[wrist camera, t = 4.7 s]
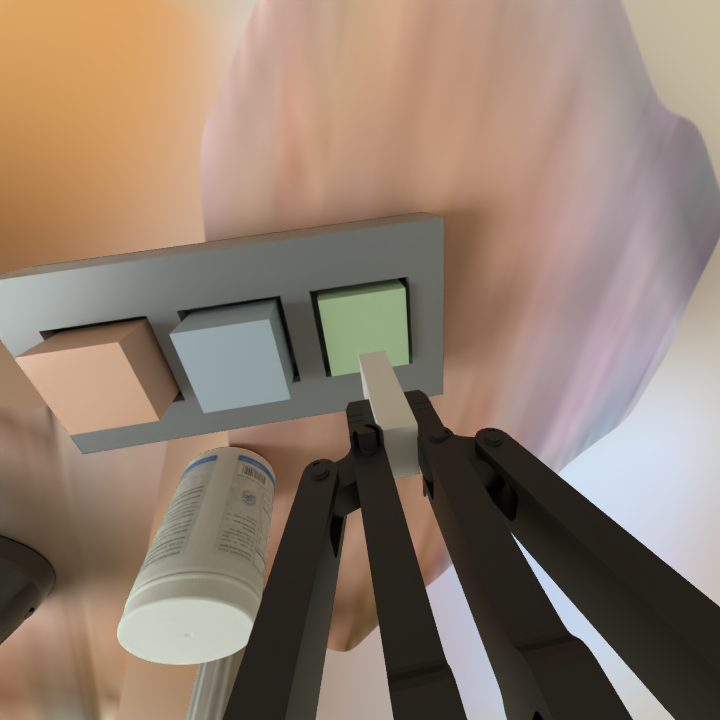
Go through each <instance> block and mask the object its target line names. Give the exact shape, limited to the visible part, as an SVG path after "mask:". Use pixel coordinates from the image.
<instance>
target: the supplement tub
mask: <svg viewBox="0 0 720 720" xmlns="http://www.w3.org/2000/svg"><path fill="white" fill-rule="evenodd" d="M274 491H275V474H274V471H273V469H272V467H271V465H270V464H269V463H268V462H267V461H266V460H265V459H264V458H263V457H262V456H260V455H258V454H257V453H255V452H253V451H250V450H247V449H243V448H238V447H222V448H216V449H212V450H209V451H206V452H204V453H202V454H200V455H198V456H197V457H196V458H194V459H193V460H192V461H191V462H190V463H189V464H188V466H187V467H186V469H185V471H184V473H183V475H182V477H181V480H180V482H179V484H178V486H177V488H176V491H175V493H174V495H173V498H172V500H171V502H170V504H169V506H168V509H167V511H166V513H165V515H164V518H163V520H162V522H161V524H160V527H159V529H158V531H157V533H156V536H155V538H154V540H153V542H152V545H151V547H150V549H149V551H148V554H147V556H146V558H145V560H144V563H143V565H142V567H141V569H140V572H139V574H138V576H137V578H136V580H135V583H134V585H133V588H132V590H131V592H130V595H129V597H128V600H127V602H126V605H125V608H124V613H123V616H122V618H121V621H120V623H119V626H118V629H117V636H118V640H119V642H120V644H121V645H122V646H123V647H124V648H125V649H126V650H127V651H128V652H130V653H132V654H133V655H135V656H138V657H140V658H142V659H145V660H149V661H152V662H157V663H163V664H178V665H183V664H197V663H204V662H209V661H214V660H217V659H220V658H224V657H226V656H229V655H231V654H233V653H235V652H237V651H239V650H240V649H242V648H243V647H244V646H246V645H247V643H248V640H249V637H250V633H251V630H252V627H253V624H254V621H255V618H256V615H257V612H258V609H259V606H260V603H261V600H262V592H263V585H264V577H265V568H266V560H267V552H268V543H269V534H270V526H271V517H272V509H273V500H274Z"/></svg>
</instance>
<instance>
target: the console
mask: <svg viewBox="0 0 720 720" xmlns="http://www.w3.org/2000/svg"><path fill="white" fill-rule="evenodd" d="M396 278H397V279H398V280H399V281H400V282H401V284H402V285H403V286H404V287H405V292H406V312H407V332H408V352H409V364H406V365H400V366H394V367H392V368H393V371H394V373H395V375H396V377H397V380H398V382H399V384H400V386H401V388H402V391H403V392H407V391H413V390H420V391H422V392H423V393H425V394H426V395H427V397H429V396H435V395H441V394H443V330H444V217H441V216H436V215H432V214H428V213H424V212H420V213H413V214H406V215H399V216H392V217H385V218H377V219H370V220H363V221H356V222H349V223H341V224H334V225H327V226H320V227H313V228H305V229H298V230H291V231H284V232H277V233H270V234H262V235H255V236H248V237H241V238H234V239H226V240H219V241H212V242H205V243H198V244H191V245H184V246H176V247H169V248H162V249H155V250H148V251H140V252H133V253H127V254H119V255H112V256H104V257H97V258H90V259H83V260H76V261H69V262H61V263H55V264H47V265H40V266H32V267H26V268H23V269H19V270H15V271H11V272H8V273H4V274H1V275H0V339H1V341H2V342H3V343H4V345H5V346H6V348H7V349H8V350H9V352H10V353H11V355H12V356H13V357H16V356H18V355H20V354H22V353H23V352H25V351H27V350H29V349H30V348H32V347H34V346H36V345H38V344H39V343H41V342H43V341H45V340H47V339H48V338H50V337H52V336H54V335H55V334H57V333H59V332H61V331H67V330H74V329H80V328H87V327H94V326H100V325H107V324H114V323H121V322H127V321H134V320H141V319H147V318H148V320H149V322H150V325H151V327H152V329H153V331H154V333H155V335H156V338H157V340H158V342H159V344H160V346H161V348H162V351H163V353H164V355H165V357H166V359H167V362H168V364H169V366H170V368H171V370H172V372H173V375H174V377H175V379H176V381H177V383H178V385H179V388H180V391H179V393H178V394H177V396H176V397H175V399H174V400H173V401H172V403H171V404H170V406H169V407H168V409H167V410H166V412H165V413H164V415H163V416H162V418H161V419H160V421H154V422H148V423H142V424H136V425H130V426H124V427H118V428H111V429H105V430H99V431H93V432H87V433H81V434H75V435H69V436H70V437H71V438H72V440H73V441H74V442H75V444H76V445H77V447H78V448H79V449H80V451H81V452H82V454H88V453H94V452H100V451H106V450H112V449H118V448H124V447H130V446H136V445H142V444H148V443H154V442H160V441H166V440H171V439H177V438H183V437H189V436H195V435H201V434H208V433H214V432H219V431H226V430H232V429H238V428H244V427H249V426H255V425H261V424H267V423H273V422H279V421H285V420H291V419H297V418H303V417H309V416H315V415H321V414H327V413H333V412H339V411H345V410H346V408H347V406H348V403H349V402H354V401H359V400H365V398H364V393H363V386H362V378H361V372H357V373H351V374H345V375H338V376H332V375H331V369H330V364H329V358H328V353H327V348H326V342H325V337H324V332H323V326H322V321H321V315H320V310H319V305H318V290H321V289H328V288H335V287H342V286H348V285H355V284H362V283H369V282H375V281H382V280H389V279H396ZM275 299H276V300H277V304H278V308H279V312H280V316H281V320H282V324H283V328H284V332H285V336H286V340H287V344H288V348H289V352H290V356H291V360H292V364H293V368H294V375H293V383H292V392H291V399H288V400H282V401H276V402H270V403H264V404H258V405H252V406H246V407H240V408H233V409H227V410H221V411H215V412H209V413H203V410H202V408H201V406H200V404H199V401H198V399H197V397H196V394H195V392H194V390H193V388H192V385H191V383H190V381H189V378H188V376H187V374H186V372H185V369H184V367H183V365H182V362H181V360H180V358H179V355H178V353H177V351H176V349H175V346H174V344H173V342H172V339H171V337H170V335H169V334H170V333H171V332H172V331H173V330H174V329H175V328H176V327H177V326H178V325H179V324H180V323H181V322H182V321H183V320H184V319H185V318H186V317H187V316H188V315H189V314H190V313H191V312H194V311H201V310H208V309H215V308H221V307H228V306H235V305H241V304H248V303H255V302H262V301H268V300H275ZM16 362H17V361H16ZM21 369H22V368H21ZM26 376H27V375H26ZM64 429H65V428H64Z"/></svg>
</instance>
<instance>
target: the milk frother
mask: <svg viewBox="0 0 720 720" xmlns="http://www.w3.org/2000/svg"><path fill="white" fill-rule="evenodd" d="M262 597H263V595H262ZM246 646H247V645H246ZM246 646H244V647H243V648H242V649H240V650H239V651H237V652H235V653H233V654H231V655H229V656H226V657H224V658H220V659H217V660H214V661H209V662H204V663H199V666H198V670H197V674H196V678H195V682H194V686H193V691H192V695H191V699H190V703H189V708H188V712H187V716H186V720H222V719H223V716H224V713H225V710H226V707H227V704H228V701H229V698H230V695H231V692H232V689H233V685H234V682H235V679H236V676H237V673H238V670H239V667H240V664H241V661H242V658H243V655H244V652H245V649H246Z"/></svg>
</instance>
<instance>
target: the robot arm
mask: <svg viewBox="0 0 720 720" xmlns="http://www.w3.org/2000/svg"><path fill="white" fill-rule="evenodd" d="M358 356H359V364H360V371H361V378H362V386H363V393H364V398H365V400H359V401H354V402H349V403H348V406H347V408H346V414H347V421H348V427H349V434H350V436H349V437H350V443H351V449H350V452H349V453H348V454H347V455H346V456H345V457H344V458H343V459H341V460H339V461H337V462H335V463H334V462H332V461H331V460H327V459H320V460H316V461H314V462H312V463H310V464H309V465H308V466H307V467H306V468H305V470H304V472H303V474H302V477H301V480H300V484H299V487H298V490H297V493H296V496H295V499H294V502H293V505H292V508H291V511H290V514H289V517H288V520H287V523H286V526H285V529H284V532H283V536H282V539H281V542H280V545H279V548H278V551H277V554H276V557H275V560H274V563H273V566H272V569H271V572H270V575H269V578H268V581H267V585H266V588H265V591H264V594H263V597H262V600H261V603H260V606H259V609H258V612H257V615H256V618H255V621H254V624H253V627H252V630H251V633H250V637H249V640H248V643H247V646H246V649H245V652H244V655H243V658H242V661H241V664H240V667H239V670H238V673H237V676H236V679H235V682H234V685H233V689H232V692H231V695H230V698H229V701H228V704H227V707H226V710H225V713H224V716H223V719H222V720H315V719H316V712H317V705H318V699H319V693H320V686H321V680H322V674H323V667H324V661H325V654H326V648H327V641H328V635H329V629H330V622H331V616H332V609H333V603H334V596H335V590H336V583H337V577H338V571H339V564H340V558H341V551H342V545H343V538H344V532H345V525H346V519H347V515H348V514H349V513H351V512H353V511H355V510H357V509H359V508H361V512H362V518H363V525H364V531H365V537H366V544H367V550H368V556H369V563H370V569H371V576H372V582H373V588H374V595H375V601H376V607H377V614H378V620H379V627H380V633H381V639H382V646H383V652H384V658H385V665H386V671H387V678H388V686H389V692H390V699H391V705H392V711H393V717H394V720H467V718H466V714H465V711H464V707H463V704H462V700H461V698H460V694H459V690H458V687H457V684H456V681H455V678H454V676H453V673H452V670H451V668H450V666H449V665H448V663H447V660H446V658H445V654H444V651H443V648H442V644H441V641H440V637H439V634H438V631H437V627H436V623H435V620H434V617H433V613H432V610H431V606H430V603H429V599H428V596H427V592H426V589H425V585H424V582H423V578H422V575H421V571H420V568H419V564H418V561H417V557H416V554H415V550H414V547H413V543H412V540H411V536H410V533H409V529H408V526H407V522H406V519H405V515H404V512H403V509H402V505H401V502H400V498H399V495H398V491H397V488H396V484H395V481H394V479H395V478H400V477H406V476H411V475H416V474H420V470H419V466H420V469H421V471H422V474H423V494H424V497H425V496H426V493H427V495H428V498H429V501H430V503H431V506H432V509H433V511H434V514H435V517H436V519H437V522H438V525H439V527H440V530H441V533H442V535H443V538H444V541H445V543H446V546H447V549H448V551H449V554H450V557H451V559H452V562H453V565H454V567H455V570H456V573H457V575H458V578H459V581H460V583H461V586H462V589H463V591H464V594H465V597H466V599H467V602H468V604H469V607H470V610H471V613H472V615H473V618H474V621H475V623H476V626H477V629H478V631H479V634H480V637H481V639H482V642H483V645H484V647H485V650H486V653H487V655H488V658H489V661H490V663H491V666H492V669H493V671H494V674H495V677H496V679H497V682H498V685H499V688H500V691H501V695H502V699H503V704H504V709H505V714H506V717H507V720H633V719H632V717H631V716H630V714H629V712H628V711H627V709H626V707H625V706H624V704H623V702H622V701H621V699H620V698H619V696H618V694H617V692H616V691H615V689H614V688H613V686H612V684H611V683H610V681H609V679H608V678H607V676H606V674H605V673H604V671H603V669H602V668H601V666H600V664H599V663H598V661H597V659H596V658H595V656H594V655H593V653H592V652H591V651H590V649H589V648H588V647H587V646H586V644H585V643H584V642H583V641H582V640H580V639H579V638H577V637H575V636H573V635H571V633H570V632H569V631H568V630H567V629H566V627H565V626H564V624H563V623H562V621H561V619H560V617H559V616H558V614H557V612H556V610H555V609H554V607H553V605H552V603H551V602H550V600H549V598H548V597H547V595H546V593H545V591H544V590H543V588H542V586H541V584H540V583H539V581H538V579H537V577H536V576H535V574H534V572H533V571H532V569H531V567H530V565H529V564H528V562H527V560H526V558H525V557H524V555H523V553H522V551H521V550H520V548H519V546H518V545H517V543H516V541H515V539H514V538H513V536H512V534H513V535H514V536H515V537H516V539H517V540H518V541H519V542H520V543H521V544H522V545H523V547H524V548H525V549H526V550H527V551H528V552H529V553H530V555H531V556H532V557H533V558H534V559H535V560H536V561H537V563H538V564H539V565H540V566H541V567H542V568H543V569H544V571H546V573H547V574H548V575H549V576H550V577H551V579H552V580H553V581H554V582H555V583H556V584H557V585H558V587H559V588H560V589H561V590H562V591H563V592H564V593H565V595H566V596H567V597H568V598H569V599H570V600H571V601H572V603H573V604H574V605H575V606H576V607H577V608H578V609H579V611H580V612H581V613H582V614H583V615H584V616H585V617H586V619H587V620H588V621H589V622H590V623H591V624H592V625H593V627H594V628H595V629H596V630H597V631H598V632H599V633H600V634H601V636H602V637H603V638H604V639H605V640H606V641H607V642H608V644H609V645H610V646H611V647H612V648H613V649H614V651H615V652H616V653H617V654H618V655H619V656H620V657H621V659H622V660H623V661H624V662H625V663H626V664H627V665H628V667H629V668H630V669H631V670H632V671H633V672H634V673H635V675H636V676H637V677H638V678H639V679H640V680H641V681H642V683H643V684H644V685H645V686H646V687H647V688H648V689H649V691H650V692H651V693H652V694H653V695H654V696H655V697H656V699H657V700H658V701H659V702H660V703H661V704H662V705H663V707H664V708H665V709H666V710H667V711H668V712H669V713H670V714H671V715H672V716H673V718H674V719H675V720H720V607H719V606H718V605H717V604H716V603H714V602H713V601H712V600H711V599H709V598H708V597H707V596H706V595H705V594H703V593H702V592H701V591H699V590H698V589H697V588H696V587H695V586H693V585H692V584H691V583H690V582H689V581H687V580H686V579H685V578H684V577H682V576H681V575H680V574H679V573H677V572H676V571H675V570H674V569H672V568H671V567H670V566H669V565H668V564H666V563H665V562H664V561H663V560H661V559H660V558H659V557H658V556H657V555H655V554H654V553H653V552H652V551H650V550H649V549H648V548H647V547H646V546H644V545H643V544H642V543H641V542H639V541H638V540H637V539H636V538H634V537H633V536H632V535H631V534H629V533H628V532H627V531H626V530H624V529H623V528H622V527H621V526H620V525H618V524H617V523H616V522H615V521H614V520H612V519H611V518H610V517H609V516H607V515H606V514H605V513H604V512H602V511H601V510H600V509H599V508H597V507H596V506H595V505H594V504H593V503H591V502H590V501H589V500H588V499H587V498H585V497H584V496H583V495H582V494H580V493H579V492H578V491H577V490H575V489H574V488H573V487H572V486H571V485H569V484H568V483H567V482H566V481H564V480H563V479H562V478H561V477H560V476H558V475H557V474H556V473H555V472H553V471H552V470H551V469H550V468H548V467H547V466H546V465H545V464H544V463H542V462H541V461H540V460H539V459H537V458H536V457H535V456H534V455H532V454H531V453H530V452H529V451H528V450H526V449H525V448H524V447H523V446H521V445H520V444H519V443H518V442H517V441H515V440H514V439H513V438H512V437H510V436H509V435H508V434H507V433H505V432H503V431H502V430H499V429H495V428H485V429H481V430H480V431H478V432H477V433H476V435H475V437H463V436H458V435H454V433H453V432H452V431H451V430H450V429H448V428H446V427H444V426H443V424H442V422H441V420H440V419H439V417H438V415H437V413H436V411H435V410H434V408H433V406H432V404H431V402H430V401H429V399H428V397H427V395H426V394H425V393H423V392H422V391H420V390H413V391H407V392H403V391H402V388H401V386H400V384H399V382H398V380H397V377H396V375H395V373H394V371H393V368H392V366H391V364H390V362H389V360H388V357H387V355H386V353H385V351H378V352H372V353H366V354H360V355H358ZM511 533H512V534H511ZM54 582H55V575H54V572H53V570H52V568H51V566H50V565H49V563H48V562H47V561H46V560H45V559H44V558H43V557H41V556H40V555H39V554H37V553H36V552H34V551H33V550H31V549H29V548H27V547H25V546H23V545H21V544H19V543H17V542H14V541H11V540H8V539H5V538H2V537H0V645H1V644H2V643H3V642H4V641H5V640H6V639H7V638H8V637H9V636H10V635H11V634H12V633H13V632H14V631H15V630H16V629H17V628H18V627H19V626H20V625H21V624H22V623H23V622H24V621H25V620H26V619H27V618H28V617H30V616H31V615H32V614H33V613H34V612H35V611H36V610H37V609H38V608H39V606H40V605H41V604H42V602H43V601H44V599H45V598H46V596H47V595H48V593H49V592H50V590H51V589H52V587H53V585H54Z"/></svg>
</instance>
